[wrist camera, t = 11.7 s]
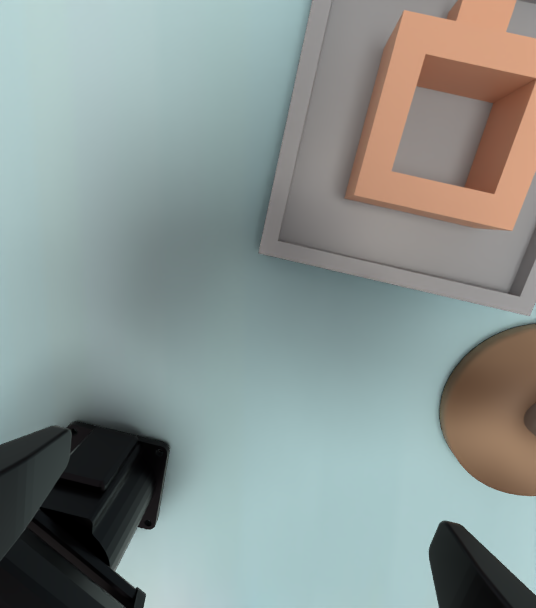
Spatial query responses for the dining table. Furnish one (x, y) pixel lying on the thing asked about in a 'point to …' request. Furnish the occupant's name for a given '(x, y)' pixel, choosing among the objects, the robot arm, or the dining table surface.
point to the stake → (495, 411)
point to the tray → (409, 160)
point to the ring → (463, 82)
